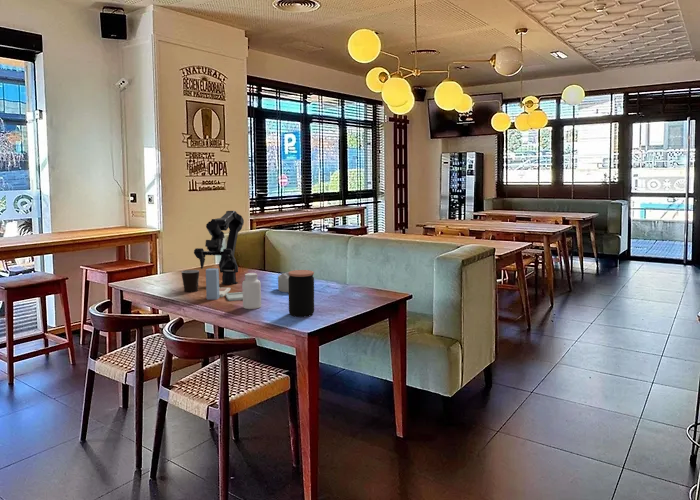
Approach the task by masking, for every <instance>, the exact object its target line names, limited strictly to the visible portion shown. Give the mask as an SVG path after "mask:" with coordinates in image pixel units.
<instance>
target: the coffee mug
mask: <svg viewBox="0 0 700 500" xmlns="http://www.w3.org/2000/svg"><path fill="white" fill-rule="evenodd" d="M181 278H182V285H183V290H184V293H196V292H198V291H199V290H198V289H199V279H200V270H198V269H188V270H187V269H185V270H181Z"/></svg>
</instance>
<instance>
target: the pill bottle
mask: <svg viewBox="0 0 700 500" xmlns="http://www.w3.org/2000/svg"><path fill="white" fill-rule="evenodd" d="M244 279H245V280H243V281H242V283H241V287H242V292H243V300H242V308H244V309H246V310H255V309H256V310H257V309H260V308H261V307H262V291H261V290H262V287H261V284H262V283H261V281H260V279H258V273H255V272H249V273H245V274H244Z"/></svg>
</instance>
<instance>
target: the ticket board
mask: <svg viewBox="0 0 700 500" xmlns="http://www.w3.org/2000/svg"><path fill="white" fill-rule="evenodd" d="M230 291H231V287H219V296H220V297H219V298H223V297H226V296H225V293H230ZM205 298H207V296H205Z"/></svg>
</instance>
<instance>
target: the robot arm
mask: <svg viewBox="0 0 700 500" xmlns="http://www.w3.org/2000/svg"><path fill="white" fill-rule="evenodd" d="M244 223H245V221H244V217H243V216H242V215H241V214H239V213H238V212H237V211H236V210H227V211H226V212H225V213H224V214H223V215H222V216H220V218H211V220H210V221H208V222H207V223H206V225H205V227H206V230H207V231H208V233H209V235H210V236H211V239H205V243H204V244H205V247H206V249H207V250H204V248H203V247H202V248H201V247H200V248H199V247H198V248H194V250H193V254H194V256H195V257H196V259H198V260H199V262H200V265H199V266H200V270H203V268H204V265H205V261H206V256H220V260H219V263H218V267H219V274H220V273H221V274H222V275H221V276H222V277H221V278H222V282H221V284H222V285H227V286H230V285H234V284H239V282H238V281H237V275H236V274H237V273H238V272H239V266H238V264H237V260H236V258H235V253H236V252H235V251H236V245H237V240H238V235H239V232H240V231H241V230H242V229H243V226H244ZM228 229H229V232H228V237H227V241H226V248H223V247H224V246H223V242H224V239H225V233H224V232H223V231H228ZM222 248H223V250H222Z"/></svg>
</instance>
